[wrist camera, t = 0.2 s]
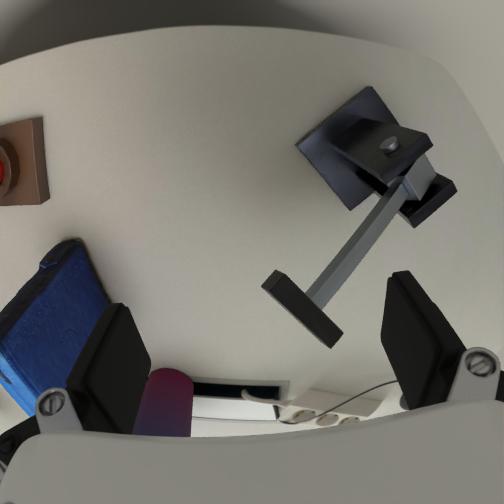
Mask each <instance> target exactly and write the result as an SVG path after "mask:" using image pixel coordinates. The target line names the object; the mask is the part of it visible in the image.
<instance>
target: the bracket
mask: <svg viewBox="0 0 504 504" xmlns="http://www.w3.org/2000/svg"><path fill="white" fill-rule="evenodd" d="M296 146H297V148H298V149H299V150H300V151H301V152H302V153H303V154H304V156H305V157H306V158H307V159H308V160H309V161H310V163H311V164H312V165H313V166H314V167H315V169H316V170H317V171H318V172H319V173H320V175H321V176H322V177H323V178H324V179H325V181H326V182H327V183H328V184H329V186H330V187H331V188H332V189H333V190H334V192H335V193H336V194H337V195H338V197H339V198H340V199H341V201H342V202H343V203H344V204H345V206H346V207H347V208H348V209H349V211H351V210H352V209H354V208H355V207H356V206H357V205H359V204H360V203H361V202H362V201H364V200H365V199H366V198H367V197H369V196H370V195H371V194H372V193H373V192H374V193H375V194H376V195H377V196H378V197H380V198H382V196H383V195H384V194H385V192H386V191H387V189H388V188H389V187H388V186H387V184H388V183H389V182H390V181H392V180H393V179H394V178H395V177H396V176H398V175H399V174H400V173H401V172H402V171H404V170H405V169H406V168H407V167H408V166H410V165H411V164H412V163H413V162H414V161H416V160H417V159H418V158H419V157H420V156H422V155H423V154H424V153H425V152H426V151H428V150H429V149H430V148H431V147H432V146H433V144H432V142H431V140H430V139H429V137H428V135H427V134H426V133H423V132H420V131H416V130H412V129H409V128H405V127H401V126H400V125H399V124H398V122H397V121H396V119H395V118H394V116H393V115H392V113H391V112H390V110H389V109H388V108H387V106H386V105H385V103H384V102H383V101H382V99H381V98H380V97H379V95H378V94H377V93H376V91H375V90H374V89H373V87H372V86H368V87H366V88H365V89H364V90H362V91H361V92H360V93H358V94H357V95H356V96H355V97H353V98H352V99H351V100H350V101H348V102H347V103H346V104H344V105H343V106H342V107H341V108H339V109H338V110H337V111H336V112H334V113H333V114H332V115H331V116H329V117H328V118H327V119H326V120H324V121H323V122H322V123H321V124H320V125H318V126H317V127H316V128H315V129H313V130H312V131H311V132H310V133H309V134H307V135H306V136H305V137H304V138H302V139H301V140H300V141H299V142H298V143H296ZM435 173H436V172H435ZM456 192H457V189H456V187H455V185H454V183H453V181H451V180H450V179H448V178H446V177H444V176H442V175H440V174H438V173H436V177H435V178H434V180H433V181H432V183H431V185H430V186H429V188H428V189H427V191H426V192H425V194H424V195H423V197H422V199H421V200H420V201H418V200H405V201H404V203H403V204H402V206H401V207H400V209H399V210H398V211H397V213H398V214H399V215H400V216H401V217H402V218H403V219H404V220H405V221H406V222H407V223H409V224H410V225H411V226H412V227H413V228H416V227H417V226H418V225H419V224H420V223H422V222H423V221H424V220H425V219H426V218H428V217H429V216H430V215H431V214H432V213H433V212H435V211H436V210H437V209H438V208H439V207H440V206H442V205H443V204H444V203H445V202H446V201H447V200H449V199H450V198H451V197H452V196H453V195H454V194H455V193H456Z"/></svg>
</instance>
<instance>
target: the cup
mask: <svg viewBox="0 0 504 504" xmlns="http://www.w3.org/2000/svg"><path fill="white" fill-rule="evenodd" d="M193 392H194V385H193V382H192V380H191V379H190V378H189V377H188V376H187V375H185V374H184V373H182V372H179V371H177V370H173V369H158V370H155V371H154V372H152V373H151V374H150V376H149V379H148V382H147V384H146V387H145V389H144V392H143V396H142V399H141V403H140V406H139V410H138V413H137V417H136V421H135V424H134V428H133V432H132V435H143V436H162V437H190V436H191V420H192V406H193Z"/></svg>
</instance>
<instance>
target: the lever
mask: <svg viewBox="0 0 504 504" xmlns="http://www.w3.org/2000/svg"><path fill="white" fill-rule="evenodd" d="M435 177H436V173H435V171H434V169H433V167H432V165H431V164H430V162H429V160H428V158H427V157H426V155H425V153H424V154H423V155H422V156H420V157H419V158H418V159H417V160H416V161H414V162H413V163H412V164H411V165H410V166H408V167H407V168H406V169H405V170H404V171H402V172H401V173H400V174H399V175H398V176H396V177H395V178H394V179H393V180H392V181H390V182H389V183H388V184H387V186H388V187H389V188H388V189H387V191H386V192H385V194H384V195H383V196H382V198H381V199H380V200H379V201H378V203H377V204H376V205H375V207H374V208H373V209H372V211H371V212H370V213H369V215H368V216H367V217H366V218H365V220H364V221H363V222H362V224H361V225H360V226H359V227H358V229H357V230H356V231H355V233H354V234H353V235H352V236H351V238H350V239H349V240H348V241H347V243H346V244H345V245H344V246H343V248H342V249H341V250H340V251H339V253H338V254H337V255H336V256H335V258H334V259H333V260H332V261H331V263H330V264H329V265H328V266H327V267H326V269H325V270H324V271H323V272H322V273H321V275H320V276H319V277H318V278H317V279H316V281H315V282H314V283H313V284H312V285H311V287H310V288H309V289H308V290H307V291H306V293H304V292H303V291H302V290H301V289H300V288H299V287H298V286H297V285H296V284H295V283H294V282H293V281H292V280H291V279H290V278H289V277H288V276H287V275H286V274H284V273H282V272H280V271H278V270H275V271H274V272H273V273H272V274H271V275H270V276H269V277H268V279H267V280H266V281H265V282H264V283H263V284H262V285H261V287H262V288H263V289H264V290H265V291H266V292H267V293H268V294H269V295H270V296H271V297H272V298H273V299H275V300H276V301H277V302H278V303H279V304H280V305H281V306H282V307H283V308H284V309H285V310H286V311H288V312H289V313H290V314H291V315H292V316H293V317H294V318H295V319H296V320H297V321H298V322H299V323H301V324H302V325H303V326H304V327H305V328H306V329H307V330H308V331H309V332H310V333H312V334H313V335H314V336H315V337H316V338H317V339H318V340H319V341H320V342H322V343H323V344H324V345H326V346H327V347H329V348H330V349H331V348H332V347H333V346H334V345H335V344H336V342H337V341H338V340H339V339H340V338H341V336H342V335H343V334H344V333H343V332H342V331H341V330H340V328H339V327H338V326H337V325H336V324H335V323H334V322H333V321H332V320H331V319H330V318H329V317H328V316H327V315H326V314H325V313H324V312H323V311H322V309H323V308H324V307H325V305H326V304H327V303H328V302H329V301H330V299H331V298H332V297H333V296H334V294H335V293H336V292H337V291H338V289H339V288H340V287H341V286H342V284H343V283H344V282H345V281H346V279H347V278H348V277H349V276H350V274H351V273H352V272H353V271H354V269H355V268H356V267H357V265H358V264H359V263H360V262H361V260H362V259H363V258H364V256H365V255H366V254H367V252H368V251H369V250H370V248H371V247H372V246H373V244H374V243H375V242H376V240H377V239H378V238H379V236H380V235H381V234H382V232H383V231H384V230H385V228H386V227H387V225H388V224H389V223H390V221H391V220H392V218H393V217H394V216H395V214H396V213H397V211H398V210H399V209H400V207H401V206H402V204H403V203H404V201H405V200H418V201H420V200H421V199H422V197H423V195H424V194H425V192H426V191H427V189H428V188H429V186H430V185H431V183H432V181H433V180H434V178H435Z"/></svg>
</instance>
